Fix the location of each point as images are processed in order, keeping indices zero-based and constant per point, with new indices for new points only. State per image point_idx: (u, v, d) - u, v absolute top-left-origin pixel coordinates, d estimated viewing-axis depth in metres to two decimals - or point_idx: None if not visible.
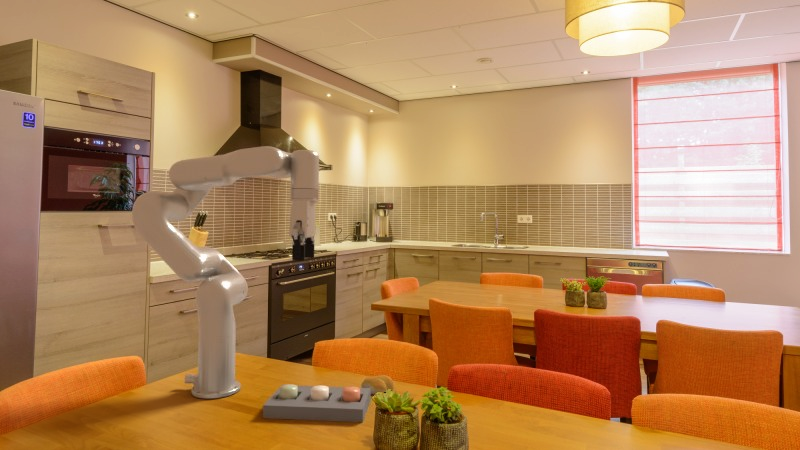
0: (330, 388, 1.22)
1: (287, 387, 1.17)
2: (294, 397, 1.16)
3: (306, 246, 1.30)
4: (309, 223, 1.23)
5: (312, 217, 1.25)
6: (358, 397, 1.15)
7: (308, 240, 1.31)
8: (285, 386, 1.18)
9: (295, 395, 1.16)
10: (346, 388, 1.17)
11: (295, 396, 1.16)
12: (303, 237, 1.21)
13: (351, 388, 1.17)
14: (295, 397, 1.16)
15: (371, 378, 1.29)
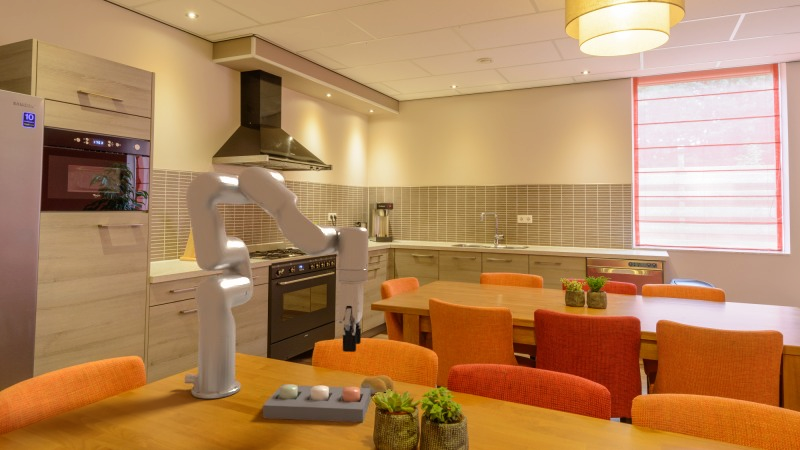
0: (330, 388, 1.22)
1: (287, 387, 1.17)
2: (294, 397, 1.16)
3: None
4: (359, 307, 1.13)
5: (361, 299, 1.15)
6: (358, 397, 1.15)
7: None
8: (285, 386, 1.18)
9: (295, 395, 1.16)
10: (346, 388, 1.17)
11: (295, 396, 1.16)
12: (354, 326, 1.12)
13: (351, 388, 1.17)
14: (295, 397, 1.16)
15: (371, 378, 1.29)
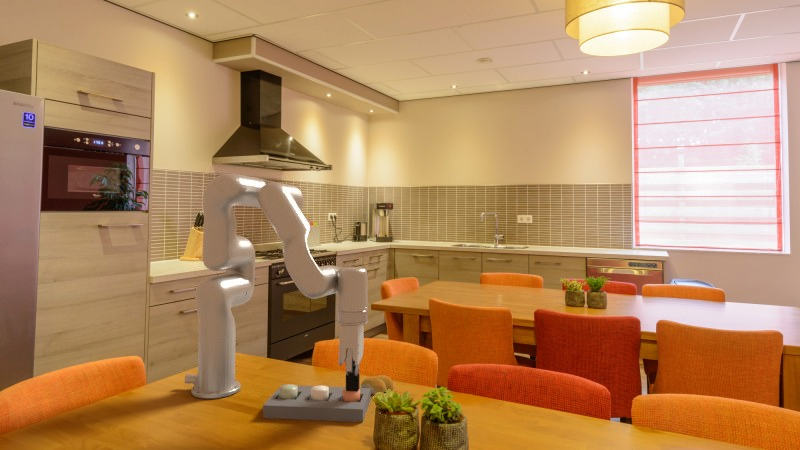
0: (330, 388, 1.22)
1: (287, 387, 1.17)
2: (294, 397, 1.16)
3: None
4: (359, 349, 1.13)
5: (362, 340, 1.15)
6: (358, 397, 1.15)
7: None
8: (285, 386, 1.18)
9: (295, 395, 1.16)
10: None
11: (295, 396, 1.16)
12: (356, 369, 1.14)
13: None
14: (295, 397, 1.16)
15: (371, 378, 1.29)
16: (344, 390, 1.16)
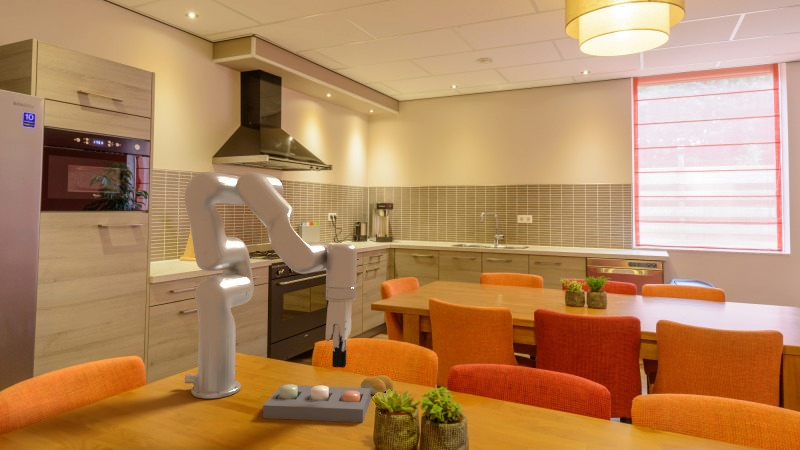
0: (330, 388, 1.22)
1: (287, 387, 1.17)
2: (294, 397, 1.16)
3: None
4: (347, 325, 1.13)
5: (349, 317, 1.15)
6: (358, 401, 1.15)
7: None
8: (285, 386, 1.18)
9: (295, 395, 1.16)
10: (346, 392, 1.17)
11: (295, 396, 1.16)
12: (343, 345, 1.14)
13: (351, 392, 1.17)
14: (295, 397, 1.16)
15: (370, 378, 1.29)
16: (344, 394, 1.16)
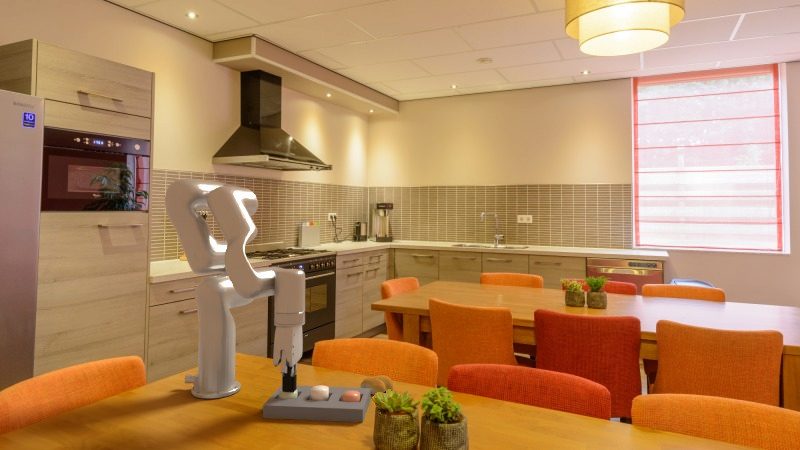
0: (330, 388, 1.22)
1: None
2: None
3: None
4: (295, 350, 1.14)
5: (298, 342, 1.16)
6: (358, 401, 1.15)
7: None
8: None
9: (295, 399, 1.16)
10: (346, 392, 1.17)
11: None
12: (292, 370, 1.15)
13: (351, 392, 1.17)
14: None
15: (370, 378, 1.29)
16: (344, 394, 1.16)
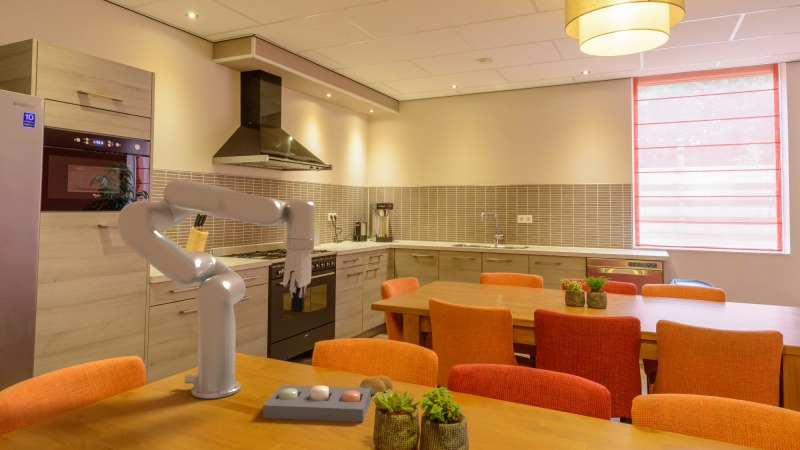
0: (330, 388, 1.22)
1: (287, 391, 1.17)
2: None
3: None
4: (303, 273, 1.25)
5: (307, 266, 1.27)
6: (358, 401, 1.15)
7: None
8: (285, 390, 1.18)
9: (295, 399, 1.16)
10: (346, 392, 1.17)
11: None
12: (300, 291, 1.26)
13: (351, 392, 1.17)
14: None
15: (370, 378, 1.29)
16: (344, 394, 1.16)
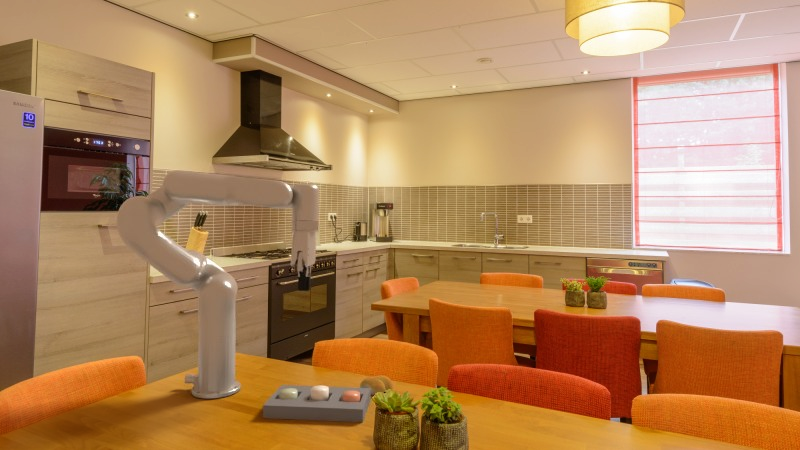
0: (330, 388, 1.22)
1: (287, 391, 1.17)
2: None
3: None
4: (309, 253, 1.31)
5: (312, 247, 1.33)
6: (358, 401, 1.15)
7: None
8: (285, 390, 1.18)
9: (295, 399, 1.16)
10: (346, 392, 1.17)
11: None
12: (307, 270, 1.32)
13: (351, 392, 1.17)
14: None
15: (370, 378, 1.29)
16: (344, 394, 1.16)
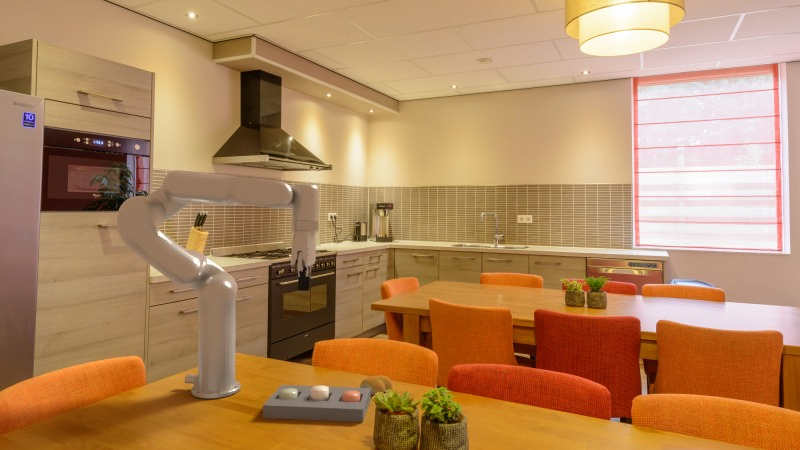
0: (330, 388, 1.22)
1: (287, 391, 1.17)
2: None
3: None
4: (309, 253, 1.31)
5: (312, 247, 1.33)
6: (358, 401, 1.15)
7: None
8: (285, 390, 1.18)
9: (295, 399, 1.16)
10: (346, 392, 1.17)
11: None
12: (307, 270, 1.32)
13: (351, 392, 1.17)
14: None
15: (370, 378, 1.29)
16: (344, 394, 1.16)
